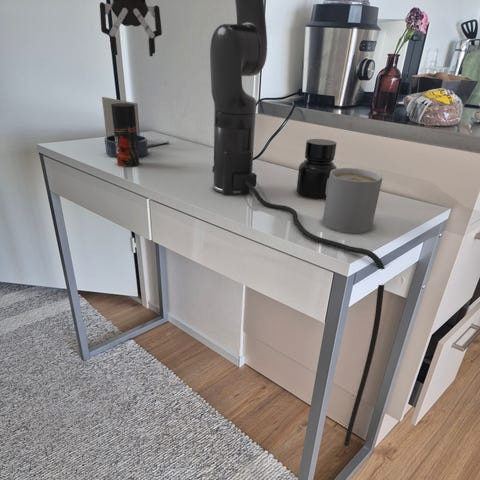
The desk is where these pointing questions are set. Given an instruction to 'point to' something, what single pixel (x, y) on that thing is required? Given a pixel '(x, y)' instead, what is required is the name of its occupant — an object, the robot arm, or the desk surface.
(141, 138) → the bowl
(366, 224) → the coffee mug
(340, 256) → the desk surface
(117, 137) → the deodorant
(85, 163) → the desk surface
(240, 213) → the desk surface
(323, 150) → the ink bottle
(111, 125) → the laptop
